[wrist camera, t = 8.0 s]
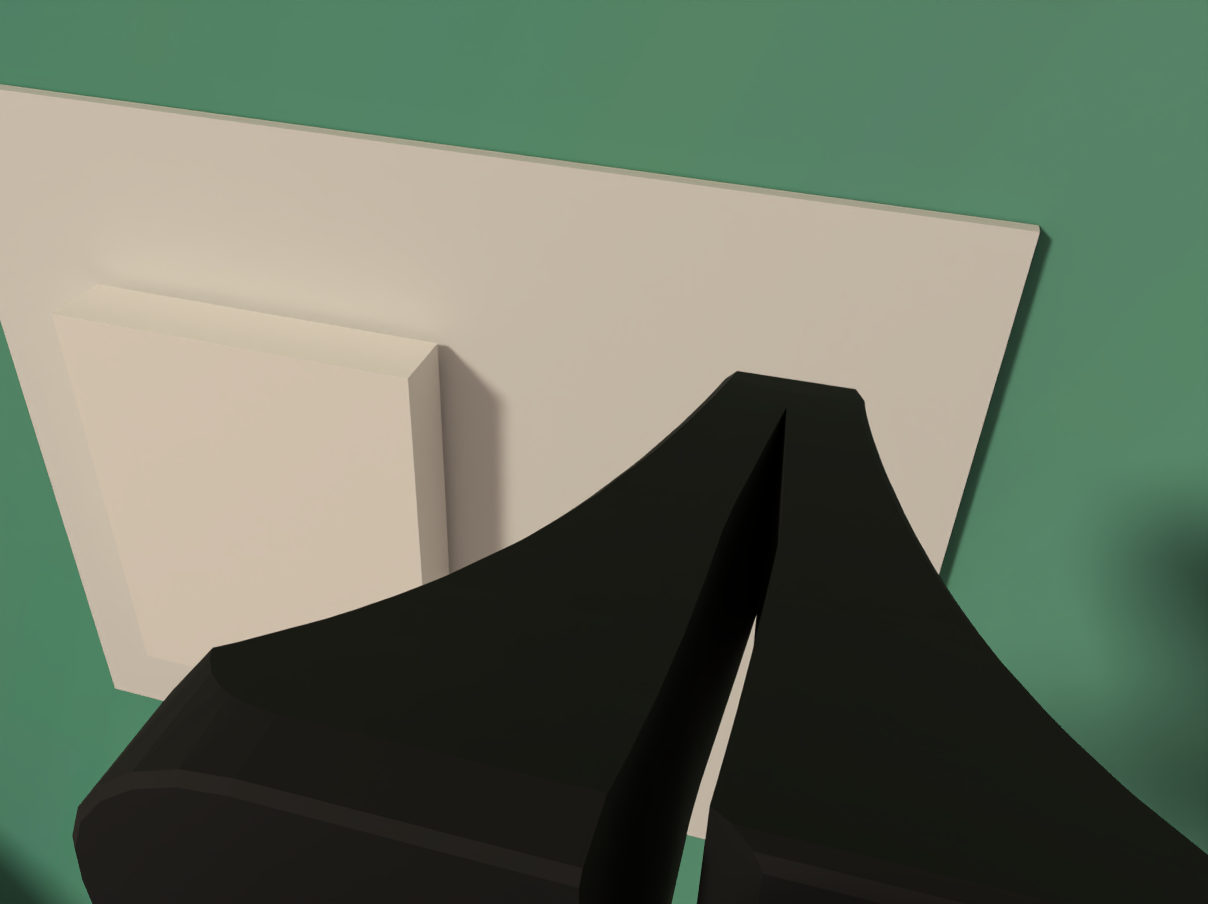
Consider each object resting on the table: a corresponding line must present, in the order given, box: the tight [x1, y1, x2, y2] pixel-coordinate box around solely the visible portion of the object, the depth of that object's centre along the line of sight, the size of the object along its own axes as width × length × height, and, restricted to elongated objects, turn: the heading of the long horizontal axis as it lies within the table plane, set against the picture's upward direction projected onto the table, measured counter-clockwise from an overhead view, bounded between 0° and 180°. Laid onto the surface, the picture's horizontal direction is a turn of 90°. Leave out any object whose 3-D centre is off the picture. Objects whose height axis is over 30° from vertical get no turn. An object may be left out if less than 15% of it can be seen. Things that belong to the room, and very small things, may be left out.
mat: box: [0, 84, 1040, 839], centre depth 25 cm, size 22×18×1 cm
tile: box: [52, 284, 449, 667], centre depth 25 cm, size 2×10×8 cm
